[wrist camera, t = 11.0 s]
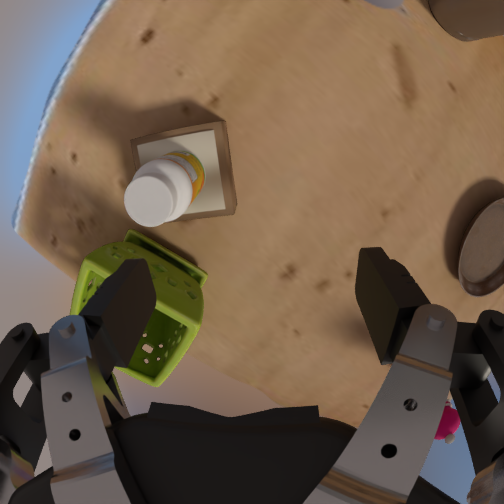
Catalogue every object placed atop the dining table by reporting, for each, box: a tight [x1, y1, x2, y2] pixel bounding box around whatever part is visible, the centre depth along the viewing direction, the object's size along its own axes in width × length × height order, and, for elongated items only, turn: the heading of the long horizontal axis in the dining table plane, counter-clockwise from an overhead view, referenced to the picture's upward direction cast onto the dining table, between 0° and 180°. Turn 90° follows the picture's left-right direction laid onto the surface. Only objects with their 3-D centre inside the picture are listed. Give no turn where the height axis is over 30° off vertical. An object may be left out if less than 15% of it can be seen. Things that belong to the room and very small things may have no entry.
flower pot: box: [70, 229, 208, 387], centre depth 33 cm, size 14×14×13 cm
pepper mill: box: [434, 399, 460, 444], centre depth 37 cm, size 7×7×20 cm
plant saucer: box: [458, 198, 504, 297], centre depth 33 cm, size 18×18×3 cm
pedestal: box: [130, 121, 237, 223], centre depth 30 cm, size 10×10×4 cm
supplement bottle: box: [124, 150, 206, 227], centre depth 24 cm, size 5×5×10 cm
